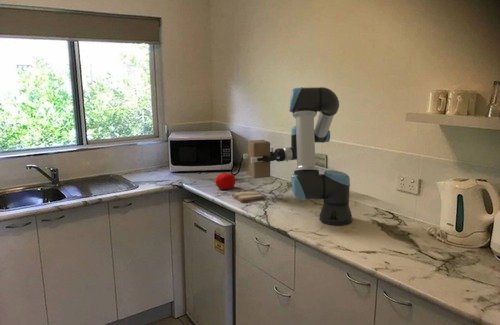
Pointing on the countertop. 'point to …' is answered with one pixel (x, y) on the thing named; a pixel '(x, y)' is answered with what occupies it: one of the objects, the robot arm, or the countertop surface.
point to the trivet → (248, 196)
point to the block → (257, 150)
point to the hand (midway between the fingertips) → (247, 158)
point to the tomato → (225, 181)
